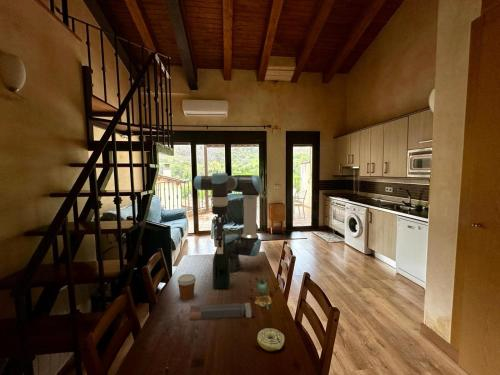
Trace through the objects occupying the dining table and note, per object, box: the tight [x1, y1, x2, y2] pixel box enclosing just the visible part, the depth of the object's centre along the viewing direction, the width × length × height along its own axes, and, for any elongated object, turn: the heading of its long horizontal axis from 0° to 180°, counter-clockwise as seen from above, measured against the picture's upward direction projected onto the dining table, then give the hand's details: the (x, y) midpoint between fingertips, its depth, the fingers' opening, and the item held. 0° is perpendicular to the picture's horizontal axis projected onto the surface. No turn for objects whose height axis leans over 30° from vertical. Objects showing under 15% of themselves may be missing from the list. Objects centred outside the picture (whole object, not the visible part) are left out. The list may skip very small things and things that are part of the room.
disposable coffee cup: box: [176, 273, 197, 302], centre depth 128 cm, size 10×10×12 cm
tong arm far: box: [189, 302, 245, 310], centre depth 115 cm, size 2×25×4 cm, turn 97°
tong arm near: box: [188, 306, 246, 321], centre depth 112 cm, size 2×25×4 cm, turn 96°
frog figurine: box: [254, 276, 272, 310], centre depth 126 cm, size 10×18×15 cm, turn 1°
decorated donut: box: [256, 327, 285, 352], centre depth 97 cm, size 10×11×4 cm
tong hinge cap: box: [244, 302, 252, 319], centre depth 115 cm, size 7×2×4 cm, turn 6°
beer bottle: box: [211, 230, 231, 291], centre depth 141 cm, size 10×10×33 cm
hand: (220, 248), depth 118 cm, fingers open, 13 cm apart
